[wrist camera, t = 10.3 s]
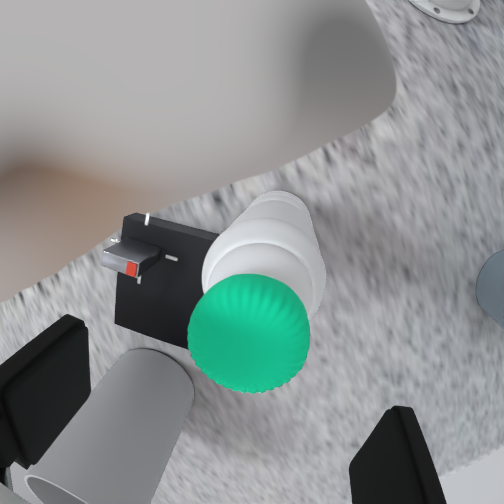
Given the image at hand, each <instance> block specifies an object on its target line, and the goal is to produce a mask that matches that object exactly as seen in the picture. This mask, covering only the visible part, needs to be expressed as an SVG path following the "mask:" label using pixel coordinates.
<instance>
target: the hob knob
mask: <svg viewBox="0 0 504 504" xmlns="http://www.w3.org/2000/svg"><path fill="white" fill-rule="evenodd" d="M160 251H161V248H160V247H156V246H153V245H150V244H147V243H144V242H141V241H137V240H134V239H131V238H126V239H124V240H122V241H120V242H118V243H116V244H114V245H112V246H111V247H109V248H107V249H105V250H103V253H102V263H101V265H102V266H105V267H107V268H110V269H113V270H116V271H118V272H121V273H124V274H127V275H129V276H132V277H135V278H138V277H139V276H141V275H142V274H143V273H144V272H146V271H147V270H148V269H150V268H151V267H152V266H153V265H155V264H156V263H157V262H158V261H159V257H160Z"/></svg>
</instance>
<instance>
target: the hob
mask: <svg viewBox="0 0 504 504" xmlns="http://www.w3.org/2000/svg"><path fill="white" fill-rule="evenodd" d="M218 236H219V235H218V234H215V233H211V232H207V231H203V230H200V229H196V228H192V227H188V226H185V225H181V224H177V223H173V222H169V221H166V220H162V219H158V218H154V217H150V213H149V212H147V214H146V215H143V214H139V213H134V214H131V215H128V216H125V217H124V220H123V228H122V236H121V241H122V240H124V239H126V238H131V239H134V240H137V241H141V242H144V243H147V244H150V245H153V246H156V247H160V248H161V251H160V257H159V261H158V262H157V263H156V264H155V265H153V266H152V267H151V268H150V269H148V270H147V271H146V272H144V273H143V274H142V275H141V276H139V277H138V278H135V277H132V276H129V275H127V274H124V273H121V272H118V275H117V288H116V303H115V324H117V325H120V326H122V327H125V328H127V329H130V330H133V331H136V332H138V333H141V334H144V335H147V336H149V337H152V338H155V339H158V340H161V341H164V342H167V343H170V344H173V345H176V346H179V347H182V348H185V349H188V340H187V336H188V325H189V323H190V317H191V315H192V313H193V311H194V309H195V307H196V305H197V303H198V302H199V300H200V299H201V298H202V296H203V295H204V292H203V287H202V269H203V264H204V260H205V257H206V255H207V252H208V250H209V249H210V247H211V245H212V244H213V242H214V241H215V240H216V239H217V237H218ZM111 242H115V243H118V242H120V240H116V239H113V238H111ZM188 350H189V349H188Z"/></svg>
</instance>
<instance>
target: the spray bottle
mask: <svg viewBox="0 0 504 504" xmlns="http://www.w3.org/2000/svg"><path fill="white" fill-rule="evenodd" d="M476 298H477V300H478V303H479V305H480V306H481V308H482V309H483V310H484V311H485V312H486V313H487V314H489V315H490V316H491V317H492V318H493V319H494V320H495V321H496V322H497V323H498V324H499V325H500V326H501V327H502V328H503V329H504V250H502V251H499V252H497V253H495V254H494V255H493V256H492V257H490V258H489V259H488V260H487V262H486V263H485V265H484V266H483V267H482V269H481V272H480V274H479V276H478V280H477V285H476Z"/></svg>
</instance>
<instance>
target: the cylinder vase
mask: <svg viewBox="0 0 504 504" xmlns="http://www.w3.org/2000/svg"><path fill="white" fill-rule="evenodd" d="M193 401H194V387H193V384H192V381H191V379H190V377H189V376H188V374H187V373H186V372H185V370H184V369H183V368H182V367H181V366H180V365H179V364H178V363H177V362H175V361H174V360H173V359H171V358H170V357H168V356H166V355H164V354H162V353H160V352H157V351H153V350H149V349H134V350H131V351H128V352H126V353H124V354H123V355H122V356H121V357H120V358H119V359H118V360H117V361H116V363H115V364H114V365H113V366H112V367H111V369H110V370H109V371H108V372H107V373H106V375H105V376H104V377H103V378H102V380H101V381H100V382H99V383H98V384H97V386H96V387H95V388H94V389H93V390H92V392H91V393H90V396H89V398H88V399H87V401H86V402H85V403H84V404H83V406H82V407H81V408H80V409H79V411H78V412H77V413H76V414H75V416H74V417H73V418H72V420H71V421H70V422H69V423H68V425H67V426H66V427H65V428H64V430H63V431H62V432H61V433H60V435H59V436H58V437H57V439H56V440H55V441H54V442H53V444H52V445H51V446H50V448H49V449H48V450H47V451H46V453H45V454H44V455H43V457H42V458H41V459H40V460H39V462H38V463H37V464H35V465H33V466H32V467H31V469H30V470H29V471H28V473H27V474H26V475H25V477H24V479H25V482H26V484H27V486H28V488H29V489H30V490H31V492H32V493H33V494H34V495H35V496H36V497H37V498H38V499H39V500H40V501H41V502H42V503H43V504H150V503H151V501H152V498H153V496H154V494H155V491H156V489H157V486H158V484H159V482H160V479H161V477H162V475H163V472H164V470H165V468H166V465H167V463H168V461H169V458H170V456H171V453H172V451H173V449H174V446H175V444H176V442H177V439H178V437H179V434H180V432H181V430H182V427H183V425H184V423H185V420H186V418H187V415H188V413H189V411H190V408H191V406H192V404H193Z"/></svg>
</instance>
